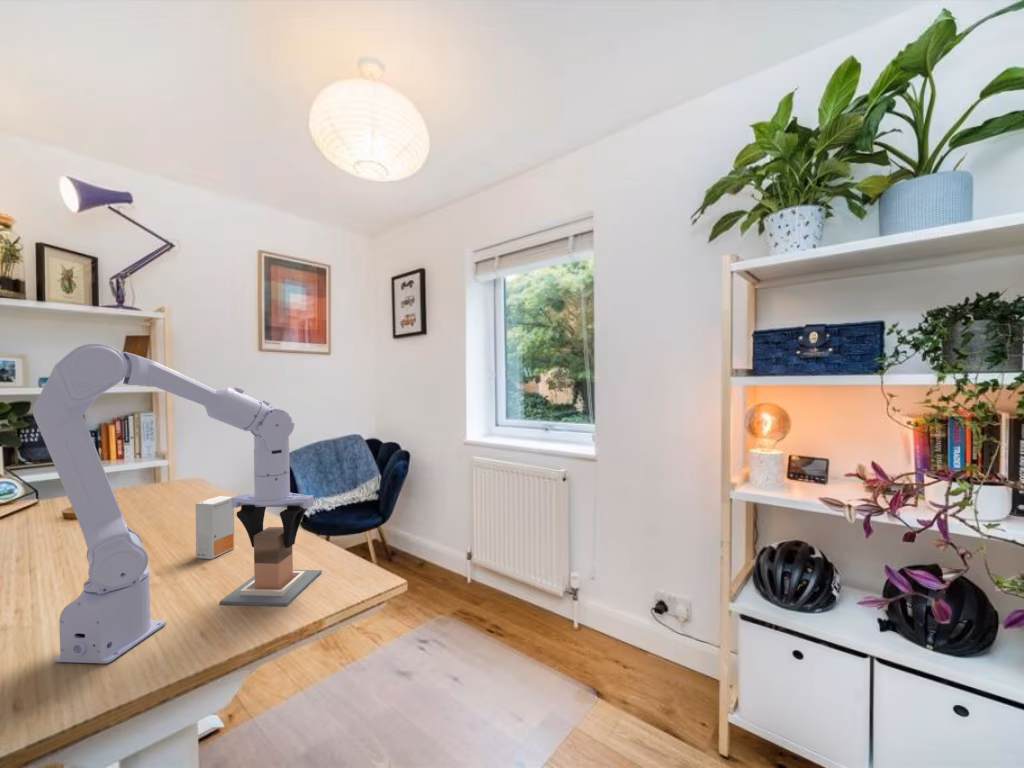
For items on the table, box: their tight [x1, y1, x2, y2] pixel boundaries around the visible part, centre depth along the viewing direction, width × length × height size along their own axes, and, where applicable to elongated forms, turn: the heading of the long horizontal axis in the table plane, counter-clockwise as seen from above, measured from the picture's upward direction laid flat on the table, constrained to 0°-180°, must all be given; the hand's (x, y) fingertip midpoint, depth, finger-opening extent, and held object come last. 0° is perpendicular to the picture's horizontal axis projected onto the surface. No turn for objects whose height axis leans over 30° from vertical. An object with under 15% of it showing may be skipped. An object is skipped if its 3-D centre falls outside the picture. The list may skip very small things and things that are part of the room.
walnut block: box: [253, 526, 294, 564], centre depth 79 cm, size 4×4×5 cm
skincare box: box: [195, 495, 235, 560], centre depth 94 cm, size 6×4×12 cm
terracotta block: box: [253, 553, 294, 590], centre depth 79 cm, size 4×4×5 cm
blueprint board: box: [219, 569, 323, 607], centre depth 79 cm, size 12×12×1 cm
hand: (273, 545), depth 79 cm, fingers open, 6 cm apart
